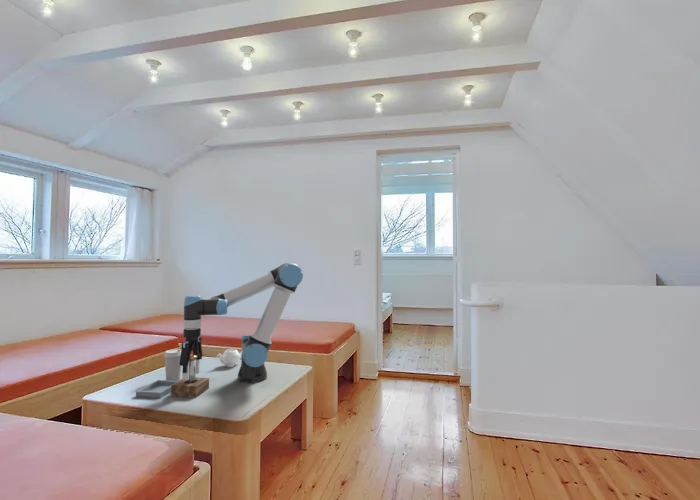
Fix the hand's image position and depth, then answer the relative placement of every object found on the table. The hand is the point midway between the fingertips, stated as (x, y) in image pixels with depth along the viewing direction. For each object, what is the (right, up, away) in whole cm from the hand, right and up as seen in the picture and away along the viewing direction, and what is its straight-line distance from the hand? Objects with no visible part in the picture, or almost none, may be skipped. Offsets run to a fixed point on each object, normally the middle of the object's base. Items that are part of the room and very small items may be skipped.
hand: (191, 376), depth 172 cm
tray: (-15, -7, 0) cm, 17 cm away
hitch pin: (0, -7, 0) cm, 7 cm away
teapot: (+4, -9, +43) cm, 45 cm away
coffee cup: (-16, -8, +17) cm, 25 cm away
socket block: (0, -7, 0) cm, 7 cm away
